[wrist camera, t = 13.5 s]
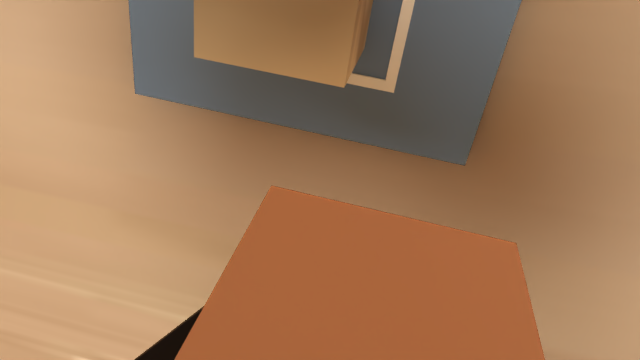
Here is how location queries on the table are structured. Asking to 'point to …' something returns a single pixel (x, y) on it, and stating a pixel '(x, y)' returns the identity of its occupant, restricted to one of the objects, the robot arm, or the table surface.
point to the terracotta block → (363, 290)
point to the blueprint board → (363, 84)
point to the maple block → (284, 36)
